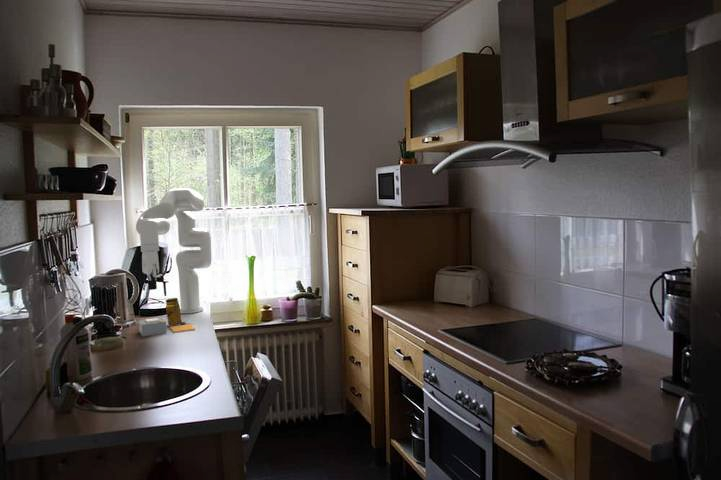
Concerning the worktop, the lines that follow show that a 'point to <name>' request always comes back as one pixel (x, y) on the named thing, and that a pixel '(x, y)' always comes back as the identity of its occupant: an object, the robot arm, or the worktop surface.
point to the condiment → (173, 312)
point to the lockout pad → (182, 328)
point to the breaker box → (152, 327)
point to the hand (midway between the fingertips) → (152, 289)
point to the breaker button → (152, 320)
